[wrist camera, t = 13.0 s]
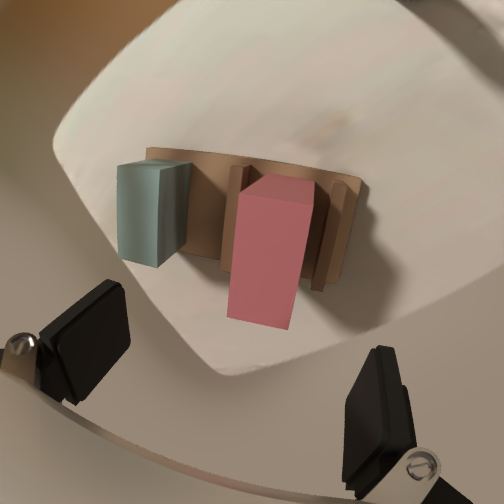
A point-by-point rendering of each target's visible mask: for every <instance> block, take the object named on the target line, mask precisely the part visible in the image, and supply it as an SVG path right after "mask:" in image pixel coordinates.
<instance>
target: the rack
mask: <svg viewBox="0 0 504 504" xmlns="http://www.w3.org/2000/svg"><path fill="white" fill-rule="evenodd" d="M268 173H271V174H277V175H284V176H290V177H296V178H301V179H307V180H313V181H315V186H314V203H313V211H312V216H311V222H310V227H309V232H308V238H307V243H306V248H305V253H304V258H303V263H302V268H301V273H300V277H303V278H307V279H312V283H311V290H315V291H320V292H323V288H324V284H325V282H327V283H332V284H337V281H338V277H339V274H340V270H341V266H342V262H343V259H344V255H345V251H346V247H347V243H348V239H349V235H350V231H351V227H352V222H353V218H354V214H355V209H356V205H357V200H358V195H359V190H360V186H361V181H362V179H361V178H359V177H354V176H350V175H345V174H341V173H336V172H331V171H326V170H321V169H316V168H311V167H306V166H300V165H295V164H289V163H283V162H277V161H271V160H265V159H258V158H251V157H244V156H237V155H229V154H221V153H212V152H203V151H193V150H182V149H170V148H157V147H150V148H146V160H144V161H139V162H134V163H129V164H124V165H119V166H117V239H118V258H120V259H124V260H128V261H132V262H135V263H139V264H143V265H147V266H151V267H155V268H158V267H159V266H160V265H161V264H163V263H164V262H165V261H166V260H167V259H168V258H170V257H171V256H172V255H173V254H174V253H176V252H177V251H180V252H184V253H189V254H193V255H198V256H203V257H207V258H212V259H217V260H220V271H225V272H229V273H231V267H232V257H233V247H234V237H235V227H236V218H237V209H238V199H239V193H240V192H242V191H243V190H245V189H246V188H247V187H249V186H250V185H252V184H253V183H255V182H256V181H258V180H259V179H260V178H262V177H263V176H265V175H266V174H268Z"/></svg>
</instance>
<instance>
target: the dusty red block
mask: <svg viewBox="0 0 504 504" xmlns="http://www.w3.org/2000/svg"><path fill="white" fill-rule="evenodd" d="M314 186H315V181H313V180H307V179H301V178H296V177H290V176H284V175H277V174H271V173H268V174H266V175H265V176H263V177H262V178H260V179H259V180H258V181H256V182H255V183H253V184H252V185H250V186H249V187H247V188H246V189H245V190H243V191H242V192H240V193H239V199H238V209H237V218H236V227H235V237H234V247H233V257H232V267H231V277H230V288H229V298H228V309H227V317H230V318H234V319H238V320H243V321H247V322H252V323H256V324H261V325H266V326H270V327H275V328H280V329H285V330H288V327H289V323H290V319H291V314H292V310H293V305H294V301H295V296H296V292H297V287H298V282H299V278H300V273H301V268H302V263H303V258H304V253H305V248H306V243H307V238H308V232H309V227H310V222H311V216H312V211H313V203H314Z"/></svg>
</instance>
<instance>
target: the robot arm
mask: <svg viewBox="0 0 504 504" xmlns="http://www.w3.org/2000/svg"><path fill="white" fill-rule="evenodd" d="M39 335H40V338H39V339H38V340H37V338H36V336H34V335H33V334H31V333H25V332H23V333H18V334H16V335H14V336H12V337H11V338H10V339H9V340H8V341H7V343H6V345H5V348H4V349H0V504H473V503H472V502H471V501H470V500H469V499H467V498H466V497H465V496H464V495H462V494H461V493H460V492H458V491H457V490H456V489H455V488H453V487H452V486H451V485H450V484H448V483H447V482H446V481H445V480H444V479H442V478H441V477H440V473H441V462H440V460H439V458H438V456H437V455H436V454H435V453H434V452H433V451H431V450H429V449H427V448H423V447H417V442H416V436H415V430H414V423H413V417H412V412H411V406H410V400H409V395H408V390H407V388H406V386H405V385H402V383H401V378H400V373H399V368H398V364H397V359H396V355H395V351H394V348H393V347H387V346H381V345H378V346H377V347H376V349H373V348H372V349H371V350H370V352H369V355H368V357H367V359H366V361H365V363H364V365H363V367H362V369H361V371H360V373H359V375H358V377H357V379H356V381H355V383H354V385H353V387H352V389H351V391H350V393H349V395H348V396H347V399H346V403H345V429H344V452H343V468H342V482H345V483H346V490H353V491H355V497H356V499H355V500H351V499H342V498H333V497H326V496H317V495H310V494H303V493H296V492H290V491H285V490H279V489H273V488H269V487H264V486H259V485H255V484H250V483H246V482H242V481H238V480H234V479H230V478H227V477H223V476H220V475H216V474H213V473H210V472H207V471H203V470H200V469H197V468H194V467H191V466H188V465H185V464H183V463H180V462H177V461H174V460H172V459H169V458H167V457H164V456H162V455H159V454H157V453H154V452H152V451H149V450H147V449H145V448H143V447H140V446H138V445H136V444H133V443H132V442H129V441H127V440H125V439H123V438H121V437H119V436H117V435H115V434H113V433H111V432H109V431H107V430H105V429H103V428H101V427H99V426H97V425H96V424H94V423H92V422H90V421H89V420H87V419H85V418H83V417H81V416H80V415H78V414H76V413H75V412H73V411H72V410H70V409H68V408H67V407H65V406H63V405H62V400H63V399H64V398H65V399H66V400H67V401H69V402H71V403H72V404H74V405H75V406H76V405H77V404H78V403H79V402H80V401H83V400H85V399H86V397H87V396H88V395H89V394H90V392H91V391H92V390H93V389H94V388H95V387H96V386H97V384H98V383H99V382H100V381H101V380H102V378H103V377H104V376H105V375H106V374H107V372H108V371H109V370H110V369H111V368H112V367H113V365H114V364H115V363H116V362H117V361H118V360H119V358H120V357H121V356H122V355H123V354H124V353H125V351H126V350H127V349H128V348H129V346H130V342H131V339H130V332H129V325H128V317H127V309H126V301H125V291H124V289H123V288H122V285H121V284H120V283H119V282H115V281H112V280H109V279H106V280H105V281H103V282H102V283H101V284H99V285H98V286H97V287H96V288H94V289H93V290H91V291H90V292H89V293H88V294H86V295H85V296H84V297H83V298H81V299H80V300H79V301H77V302H76V303H75V304H74V305H72V306H71V307H70V308H69V309H67V310H66V311H65V312H64V313H62V314H61V315H60V316H59V317H57V318H56V319H55V320H54V321H52V322H51V323H50V324H49V325H48V326H46V327H45V328H44V329H43V330H42V331H40V332H39Z"/></svg>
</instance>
